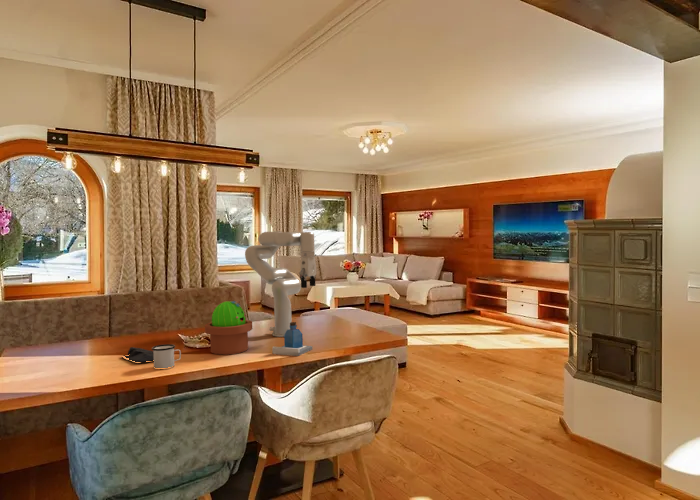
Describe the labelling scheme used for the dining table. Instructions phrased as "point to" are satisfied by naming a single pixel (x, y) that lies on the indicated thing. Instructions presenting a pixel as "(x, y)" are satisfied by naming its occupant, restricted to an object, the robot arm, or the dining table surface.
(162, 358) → the mug
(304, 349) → the grey square slab
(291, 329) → the perfume bottle
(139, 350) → the black folded cloth
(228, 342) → the potted cactus
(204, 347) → the dining table surface
